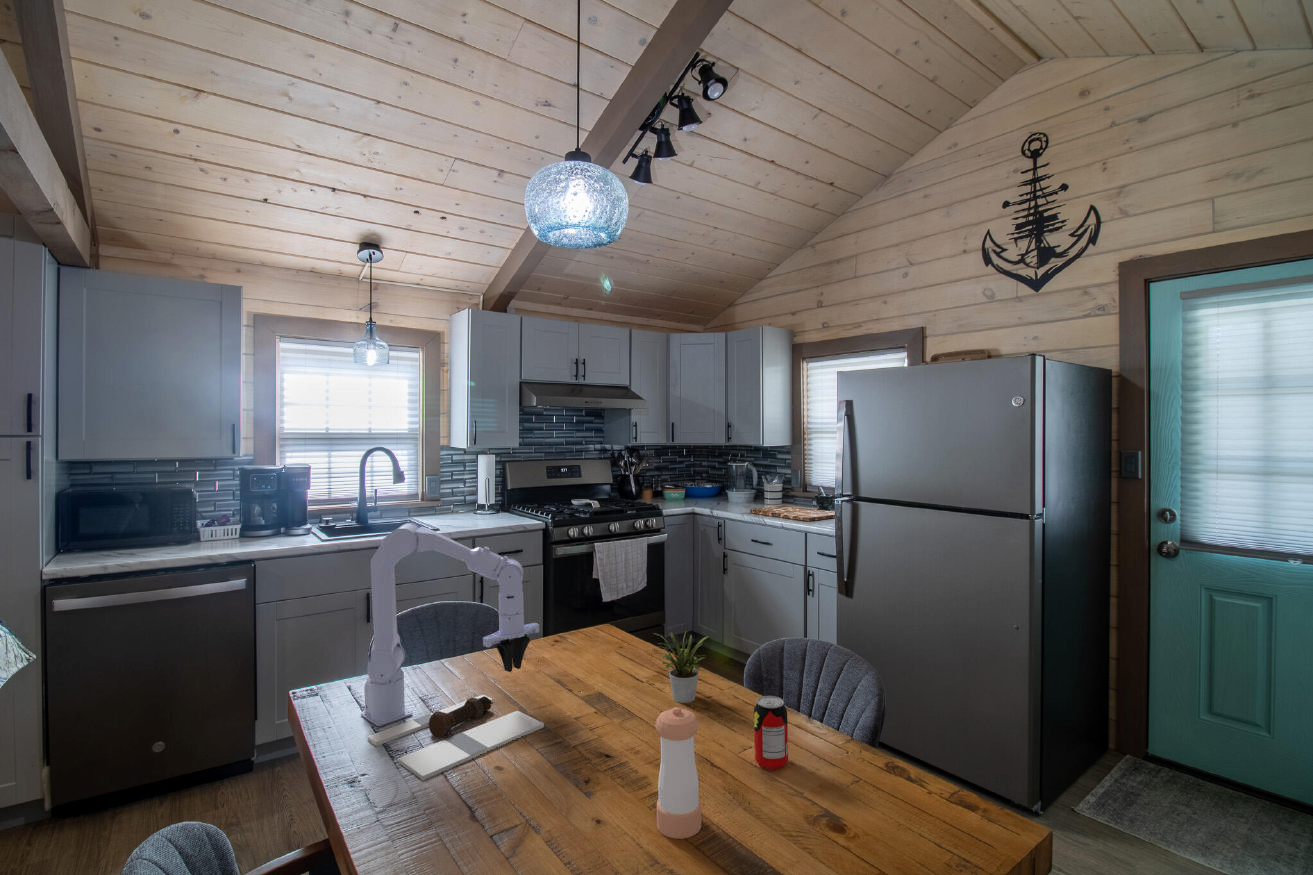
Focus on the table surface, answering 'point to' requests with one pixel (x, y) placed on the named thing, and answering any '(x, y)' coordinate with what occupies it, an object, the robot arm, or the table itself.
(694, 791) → the pepper shaker
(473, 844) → the table surface
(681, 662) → the house plant
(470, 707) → the bolt
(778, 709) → the beverage can
